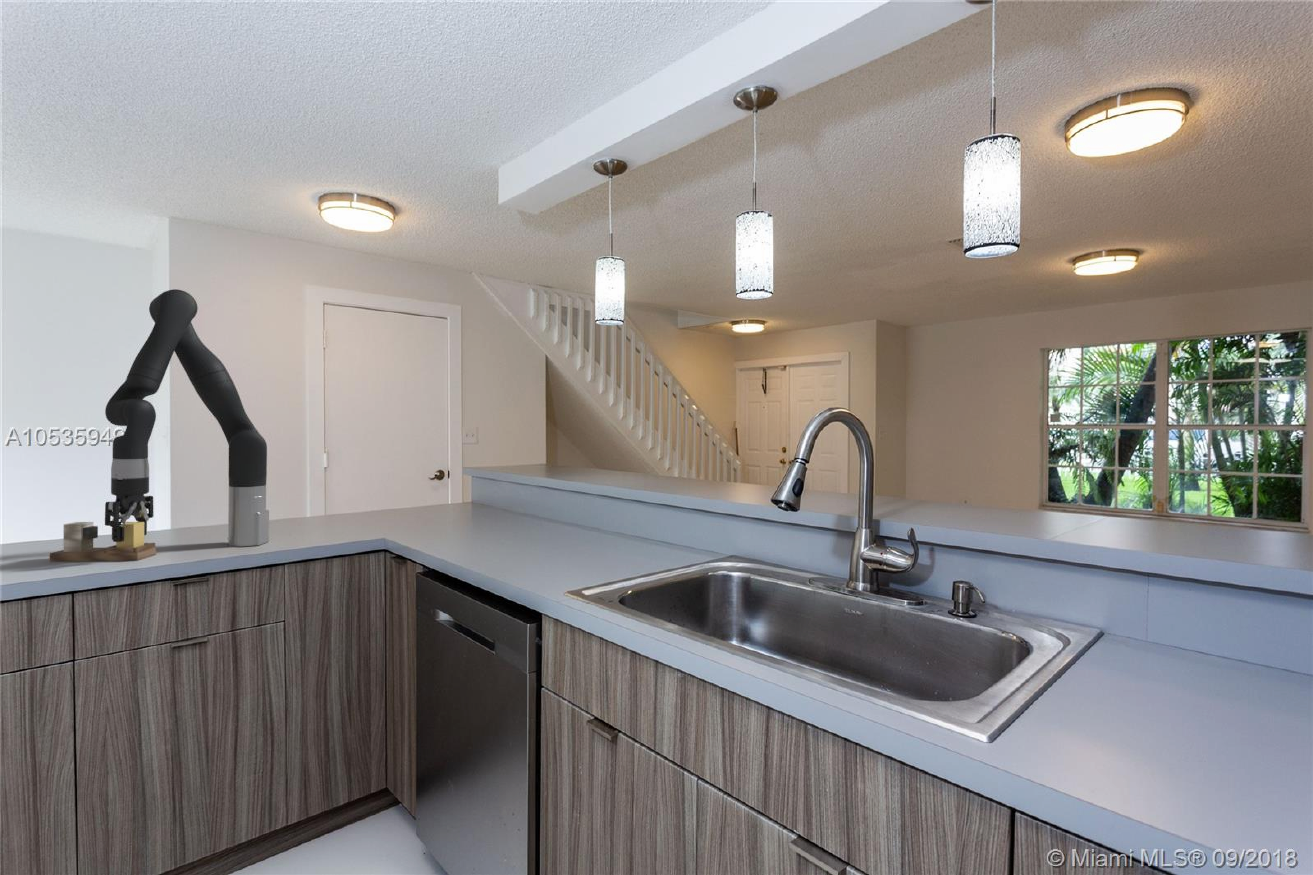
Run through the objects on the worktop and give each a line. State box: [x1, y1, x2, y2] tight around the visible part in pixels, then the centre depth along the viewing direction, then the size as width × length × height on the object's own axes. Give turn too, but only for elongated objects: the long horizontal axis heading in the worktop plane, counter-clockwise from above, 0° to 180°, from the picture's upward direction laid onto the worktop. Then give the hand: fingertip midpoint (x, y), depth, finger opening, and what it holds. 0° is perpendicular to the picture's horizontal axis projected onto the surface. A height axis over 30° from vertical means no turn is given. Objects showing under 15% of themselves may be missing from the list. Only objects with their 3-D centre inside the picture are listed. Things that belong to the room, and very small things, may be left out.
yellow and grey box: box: [111, 521, 145, 548], centre depth 160 cm, size 5×4×7 cm
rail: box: [49, 521, 157, 562], centre depth 159 cm, size 20×7×9 cm, turn 98°
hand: (130, 538), depth 160 cm, fingers open, 8 cm apart
